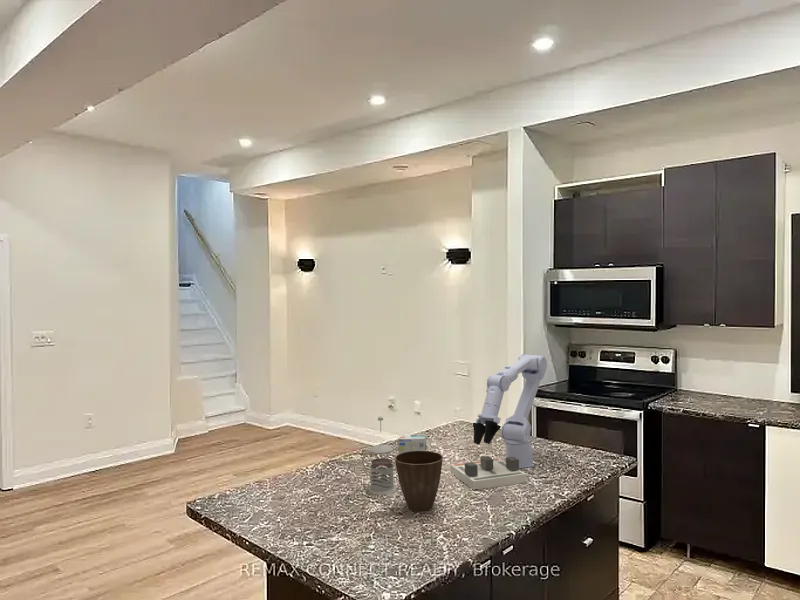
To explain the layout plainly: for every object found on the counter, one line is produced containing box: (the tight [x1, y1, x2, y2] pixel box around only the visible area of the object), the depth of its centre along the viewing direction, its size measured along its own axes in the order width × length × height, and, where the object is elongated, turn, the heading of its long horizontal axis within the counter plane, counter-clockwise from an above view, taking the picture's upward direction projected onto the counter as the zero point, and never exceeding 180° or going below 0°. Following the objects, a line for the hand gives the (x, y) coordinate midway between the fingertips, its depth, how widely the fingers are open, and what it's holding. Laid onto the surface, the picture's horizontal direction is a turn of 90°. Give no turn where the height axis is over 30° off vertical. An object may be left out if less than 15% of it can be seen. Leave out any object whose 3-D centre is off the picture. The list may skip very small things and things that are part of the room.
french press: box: [361, 416, 397, 495], centre depth 202 cm, size 10×12×25 cm
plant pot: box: [394, 450, 444, 513], centre depth 185 cm, size 15×15×16 cm
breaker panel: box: [449, 457, 527, 491], centre depth 212 cm, size 20×20×7 cm
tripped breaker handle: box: [480, 455, 494, 470], centre depth 212 cm, size 3×4×4 cm
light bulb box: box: [397, 434, 428, 454], centre depth 231 cm, size 11×7×11 cm, turn 84°
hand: (481, 443), depth 208 cm, fingers open, 7 cm apart
